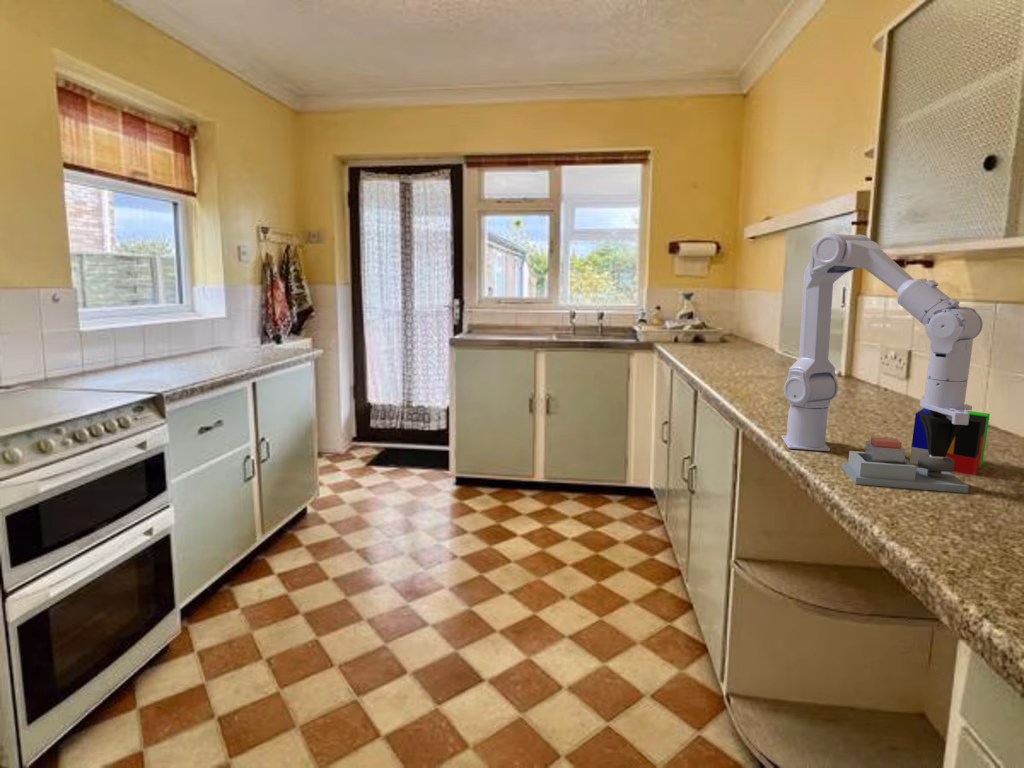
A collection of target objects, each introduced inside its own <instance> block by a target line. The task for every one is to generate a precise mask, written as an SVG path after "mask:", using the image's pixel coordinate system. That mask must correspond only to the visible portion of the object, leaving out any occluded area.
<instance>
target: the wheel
mask: <svg viewBox="0 0 1024 768" xmlns="http://www.w3.org/2000/svg"><path fill="white" fill-rule="evenodd" d="M954 462H955V460H954V459H952V458H950V457H946V456H945V457H938V456H931V455H929V454H920V455H919V456H918V465H917V466H918V467H919V468H925V469H929V470H934V471H942V472H954V471H953V469H954Z"/></svg>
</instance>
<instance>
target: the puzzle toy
mask: <svg viewBox="0 0 1024 768" xmlns="http://www.w3.org/2000/svg"><path fill="white" fill-rule="evenodd" d="M930 411H931V410H929V409H925V408H923V407H922V409H921V410H919V411H917V412H916V413H915V416H914V424H913V430H912V431H913V432H912V438H911V439H912V440H911V449H910V455H909V461H910V462H911V463H912V464H914V465H917V466H918V456H919V455H920V454H929V452H928V446H927V439H926V433H925V429H924V426H923V423H922V421H921V419H920V417H919V414H922V413H923V414H929V412H930ZM966 412H967V413H969V414H970V415H969V422H968V425H964V426H963V427H962V428H961V429H960V430H959V431H958V433H957V434H956V436H955V437H954V439H953V441H952V443H951V445H950V447H949V450H948V452H947V454H946V457H950V458H952V459H954V460H955V462H954V469H953V471H952V472H954V473H959V474H960V473H961V474H965V475H971V476H973V475H974V474H975V473H976V472H977V471H978V470H979V469H980V467H981V466H982V465H983V461H984V456H985V451H986V450H985V448H986V443H987V435H988V430H989V429H988V428H989V423H990V422H989V420H990V416H991V415H990V413H989V412H988V413H987V412H981V411H973V410H966Z"/></svg>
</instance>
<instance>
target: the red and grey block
mask: <svg viewBox="0 0 1024 768" xmlns="http://www.w3.org/2000/svg"><path fill="white" fill-rule="evenodd" d="M902 444H903V443H902V442H901V441H900V440H899V439H897V438H895V437H894V438H891V437H881V436H880V437H878V436H876V437H875V436H871V437H870V440H869V441H866V444H865V451H864V452H865V459H864V460H865V461H866V462H878V463H892V464H904V457H905V454H906V448H905V447H903V446H902ZM905 458H906V457H905Z"/></svg>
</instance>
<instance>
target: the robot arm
mask: <svg viewBox="0 0 1024 768" xmlns="http://www.w3.org/2000/svg"><path fill="white" fill-rule="evenodd" d="M856 269H864V270H866V271H867V272H868V273H870V274H871V275H873V276H874V277H875V278H877V279H878V280H879V281H881V282H882V283H883V284H884V285H886V286H887V287H888V288H890V289H891V290H893V291H894V292H895V293H897V298H896V301H897V304H898V305H900V306H901V307H902V308H903V309H905V310H906V311H907V312H908V313H909V314H910V315H911V316H913V318H915V319H916V320H917V321H919V322H920V324H921V325H923V326H924V331H925V334H926V337H928V339H929V341H930V345H929V349H930V350H929V358H928V366H927V372H926V373H927V374H926V381H925V390H924V395H921V396H920V401H919V407H921V408H922V409H923V408H925V409H929V410H931V411H930V412H929V414H923V413H922V414H919V417H920V419H921V421H922V423H923V426H924V429H925V433H926V439H927V446H928V452H929V455H931V456H938V457H945V456H946V454H947V452H948V450H949V447H950V445H951V443H952V441H953V439H954V437H955V436H956V434H957V433H958V431H959V430H960V429H961V428H962V427H963V426H964V425H968V422H969V415H970V414H969V413H967V412H966V411H973V406H972V405H970V404H967V403H966V394H967V389H968V380H969V375H970V374H969V373H970V367H971V360H972V359H971V358H972V352H973V351H972V350H973V344H974V339H976V338H977V337H978V336H979V335H980V333H981V332H982V330H983V319H982V317H981V316H980V314H979V313H978V312H977V310H976V309H975V308H972V307H969V306H968V307H967V306H963V307H962V306H960V301H959V300H958V299H957V298H951V297H950V296H948V295H947V294H946V293H945V292H943V291H941V289H939V288H938V286H939V283H938V282H937V281H936V280H934V279H929V280H928V279H926V278H914V277H912V276H911V275H910V274H909V273H908V272H907V271H905V269H903V268H902V267H901V266H900V265H899V264H898V263H897V262H896V261H894V259H893V258H892V257H890V256H889V255H888V254H887V253H886V252H885V251H884V250H883V249H881V247H880V245H879V243H878V242H875V241H873V240H871V238H869V236H866V235H864V234H838V233H834V232H833V233H832V232H829V233H826V234H824V235H822V236H821V237H820V238H818V240H816V241H815V242H814V243H813V244H812V245H811V246H810V258H809V261H808V263H807V265H806V268H805V270H804V272H803V280H802V281H803V282H802V294H801V295H802V296H801V297H802V298H801V299H802V300H801V312H800V313H801V316H800V332H799V334H800V335H799V336H800V337H799V349H798V352H799V353H798V359H797V360H796V361H795V362H794V363H793V364H792V365H791V366H790V367H789V369H788V375H787V379H786V380H785V382H784V384H783V393H784V397H785V398H786V400H787V401H788V405H790V407H789V409H788V413H787V423H786V435H784V434H783V435H781V438H782V440H783V442H784V443H785V444H786V446H787V448H788V449H792V450H793V449H795V450H806V451H818V452H819V451H821V452H830V451H831V448H830V447H829V446H828V444H827V443H826V436H827V425H828V424H827V423H828V414H829V406H830V405H831V401H832V400H833V399H835V397H836V396H837V394H838V391H839V383H838V380H837V378H836V368H835V366H834V365H833V364H832V363H831V362H830V360H829V354H830V353H829V352H830V351H829V350H830V338H831V337H830V336H831V335H830V334H831V320H832V304H833V289H834V288H833V287H834V284H835V282H836V281H838V280H839V279H840V278H842V276H844V275H845V274H847V273H849V272H851V271H853V270H856Z"/></svg>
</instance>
